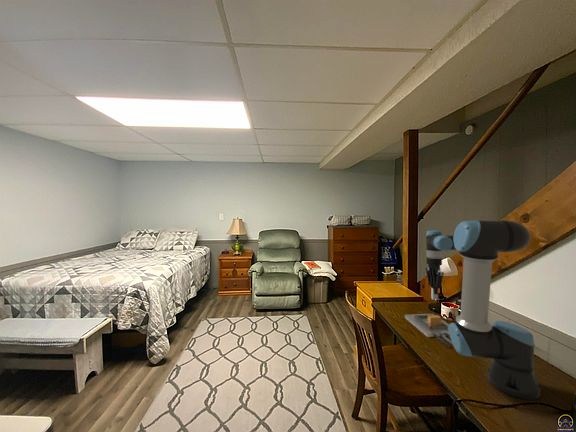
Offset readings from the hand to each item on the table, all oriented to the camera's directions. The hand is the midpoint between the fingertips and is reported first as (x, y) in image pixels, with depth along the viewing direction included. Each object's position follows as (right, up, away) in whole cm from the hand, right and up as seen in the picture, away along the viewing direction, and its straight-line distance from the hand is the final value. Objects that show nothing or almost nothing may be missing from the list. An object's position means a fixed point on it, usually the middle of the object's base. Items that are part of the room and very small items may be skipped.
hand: (434, 299), depth 140 cm
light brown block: (0, -15, +1) cm, 15 cm away
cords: (0, -18, -13) cm, 22 cm away
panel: (0, -17, +5) cm, 18 cm away
